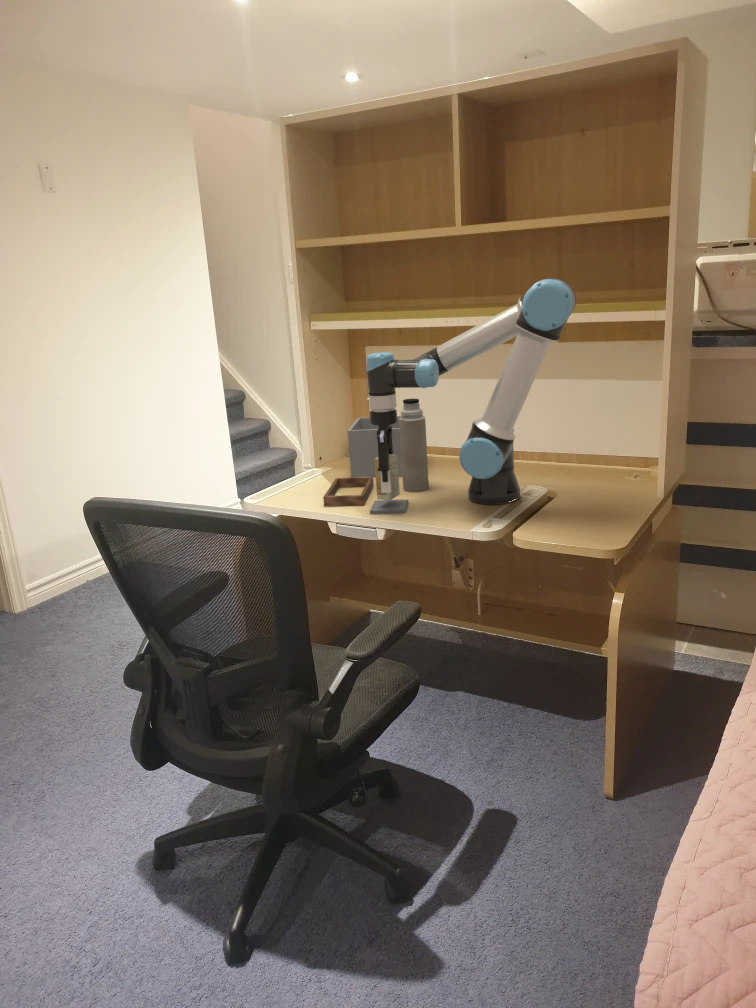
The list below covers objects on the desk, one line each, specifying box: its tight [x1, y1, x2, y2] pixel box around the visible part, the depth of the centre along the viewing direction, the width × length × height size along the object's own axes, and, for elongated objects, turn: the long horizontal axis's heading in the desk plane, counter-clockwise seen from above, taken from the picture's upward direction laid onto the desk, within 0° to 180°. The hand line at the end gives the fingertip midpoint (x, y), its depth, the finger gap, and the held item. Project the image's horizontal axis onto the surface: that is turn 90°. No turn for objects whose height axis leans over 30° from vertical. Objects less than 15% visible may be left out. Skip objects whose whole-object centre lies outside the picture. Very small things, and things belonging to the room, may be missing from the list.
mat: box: [369, 499, 409, 515], centre depth 224 cm, size 10×10×1 cm
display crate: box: [347, 415, 403, 478], centre depth 266 cm, size 22×22×16 cm
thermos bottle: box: [399, 398, 430, 493], centre depth 238 cm, size 8×8×28 cm
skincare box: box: [374, 454, 401, 501], centre depth 221 cm, size 6×4×12 cm
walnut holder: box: [322, 476, 374, 507], centre depth 239 cm, size 12×21×3 cm, turn 173°
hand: (388, 488), depth 222 cm, fingers closed on skincare box, 7 cm apart
